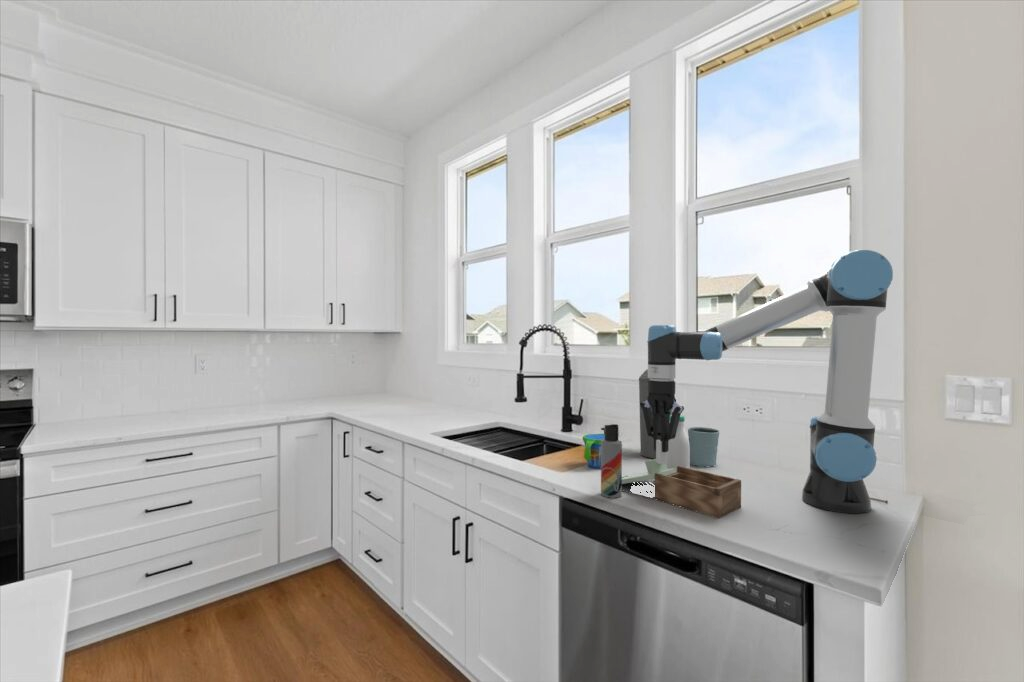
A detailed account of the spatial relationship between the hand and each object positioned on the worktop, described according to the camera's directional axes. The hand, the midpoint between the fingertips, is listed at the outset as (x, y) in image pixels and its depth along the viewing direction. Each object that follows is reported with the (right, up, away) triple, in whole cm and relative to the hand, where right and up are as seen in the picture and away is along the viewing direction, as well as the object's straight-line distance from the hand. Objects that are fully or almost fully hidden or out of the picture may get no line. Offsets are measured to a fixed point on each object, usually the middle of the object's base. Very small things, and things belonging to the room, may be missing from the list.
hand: (661, 462), depth 138 cm
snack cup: (-13, -9, +29) cm, 32 cm away
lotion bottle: (-14, -9, -1) cm, 17 cm away
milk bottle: (+9, -9, +13) cm, 18 cm away
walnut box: (+7, -9, -8) cm, 14 cm away
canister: (+11, -8, +43) cm, 45 cm away
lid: (-4, -6, +4) cm, 8 cm away
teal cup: (+25, -9, +32) cm, 41 cm away
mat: (-5, -9, +6) cm, 12 cm away
